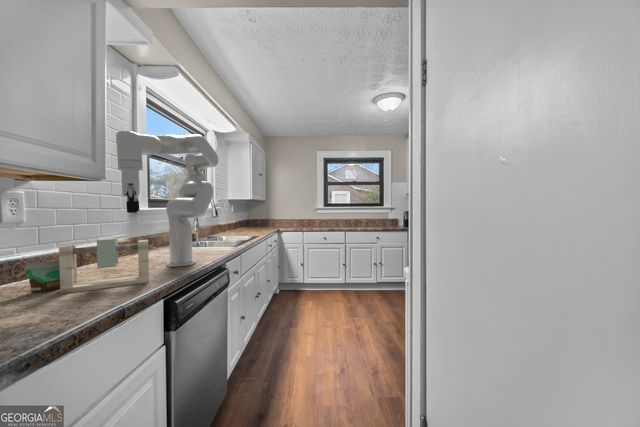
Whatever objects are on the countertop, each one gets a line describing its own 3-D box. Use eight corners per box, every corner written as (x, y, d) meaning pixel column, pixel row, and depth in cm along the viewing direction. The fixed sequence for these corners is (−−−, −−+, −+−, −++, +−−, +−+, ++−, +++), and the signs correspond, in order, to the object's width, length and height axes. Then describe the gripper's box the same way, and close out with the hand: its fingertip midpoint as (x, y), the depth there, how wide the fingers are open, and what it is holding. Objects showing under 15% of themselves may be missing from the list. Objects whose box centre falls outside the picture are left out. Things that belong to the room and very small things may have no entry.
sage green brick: (100, 264, 98) (100, 238, 98) (118, 263, 101) (117, 237, 101) (97, 268, 92) (96, 240, 92) (115, 266, 95) (115, 239, 95)
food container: (40, 295, 86) (39, 263, 86) (25, 294, 88) (24, 262, 87) (81, 284, 99) (80, 256, 98) (68, 283, 100) (67, 255, 99)
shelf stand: (65, 288, 93) (64, 244, 92) (148, 278, 106) (148, 239, 105) (60, 293, 88) (58, 247, 87) (148, 282, 100) (147, 241, 100)
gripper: (120, 167, 108) (123, 210, 109) (114, 163, 93) (118, 213, 94) (143, 168, 112) (146, 210, 113) (141, 164, 97) (144, 212, 98)
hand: (133, 211), depth 104 cm, fingers open, 9 cm apart
